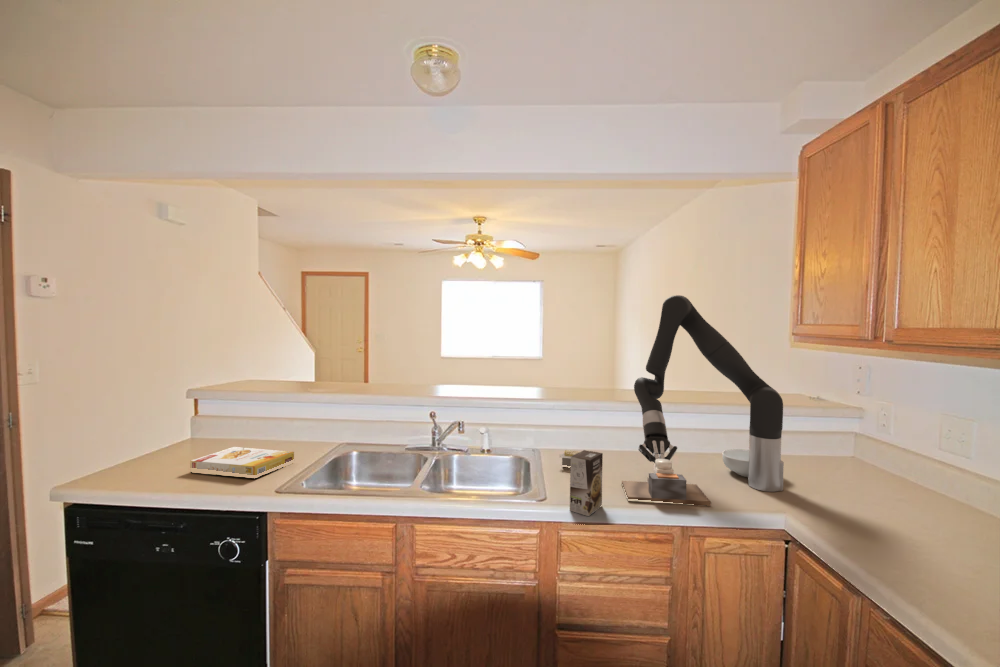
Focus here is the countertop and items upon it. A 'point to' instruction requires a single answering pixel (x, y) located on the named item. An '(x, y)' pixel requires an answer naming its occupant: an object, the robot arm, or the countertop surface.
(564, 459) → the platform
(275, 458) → the cereal box
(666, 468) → the plunger knob
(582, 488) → the coffee box
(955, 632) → the countertop surface
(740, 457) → the cereal bowl
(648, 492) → the knob mount
